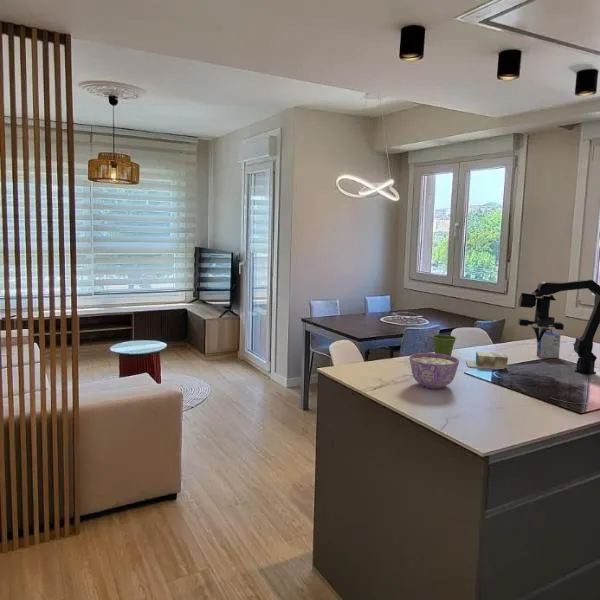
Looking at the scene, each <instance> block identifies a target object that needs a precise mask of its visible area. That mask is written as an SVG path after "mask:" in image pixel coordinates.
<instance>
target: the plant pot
mask: <svg viewBox="0 0 600 600" xmlns="http://www.w3.org/2000/svg"><path fill="white" fill-rule="evenodd" d="M431 337H432V341H433V344H434V345H433V347H434V353H438V354H445V355H449V356H452V353H453V348H454V344H455V342H456V340H457V337H456V336H452V335H448V334H433V335H431Z"/></svg>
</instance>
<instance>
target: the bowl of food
mask: <svg viewBox="0 0 600 600" xmlns="http://www.w3.org/2000/svg"><path fill="white" fill-rule="evenodd" d="M409 363H410V368H411V374H412V378H413V379H414V380H415V381H416V383H418V384H420V385H422V386H423V387H424V386H425V388H427V389H432V390H433V389H434V390H435V389H438V390H439V389H441V388H443V387H446V386H448V385H451V383H452V382H453V380H454V379H455V376H456V373H457V370H458V367H459V364H460V360H459V358H457V357H455V356H453V355H451V356H449V355H445V354H438V353H435V352H418V353H413V354H410V355H409Z"/></svg>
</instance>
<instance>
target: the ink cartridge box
mask: <svg viewBox="0 0 600 600" xmlns="http://www.w3.org/2000/svg"><path fill="white" fill-rule="evenodd" d="M561 336H562V335H561V334H559V333H557V332H554V331H553V330H552V328H549V330H547V331H546V332H545V333H544V334H543V336H542V338H541V340H540V342H537V341H536V357H539V358H541V359H542V358H543V359H545V358H547V359H549V358H550V359H558V358H560V348H561Z"/></svg>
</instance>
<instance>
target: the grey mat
mask: <svg viewBox="0 0 600 600" xmlns="http://www.w3.org/2000/svg"><path fill="white" fill-rule="evenodd" d="M465 363H466V366H467V368H470V367H471V368H472V369H484V368H491V369H490V370H498V369H504V370H505V368H500V367H485V366H478V365H477V363H476V360H471V359H470V360H469V359H466V360H465Z"/></svg>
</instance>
